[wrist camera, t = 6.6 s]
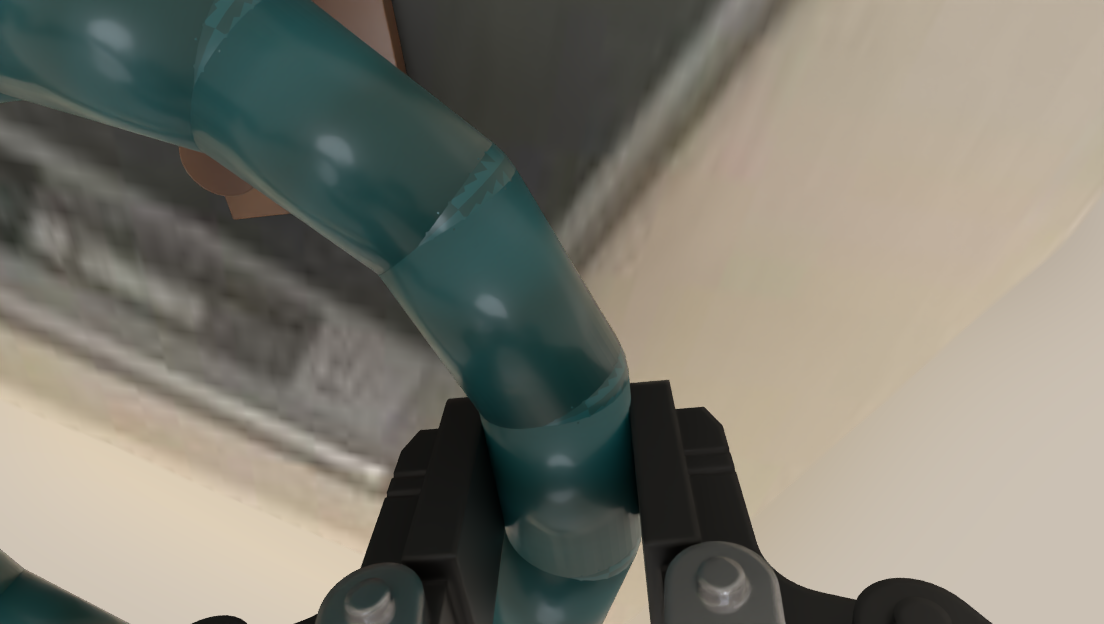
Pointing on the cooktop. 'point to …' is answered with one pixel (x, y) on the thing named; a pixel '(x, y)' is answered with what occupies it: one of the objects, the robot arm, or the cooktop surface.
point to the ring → (376, 253)
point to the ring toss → (367, 15)
